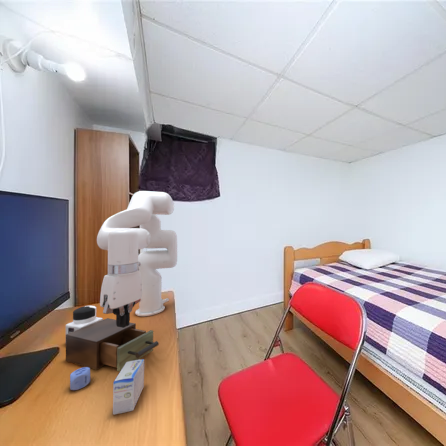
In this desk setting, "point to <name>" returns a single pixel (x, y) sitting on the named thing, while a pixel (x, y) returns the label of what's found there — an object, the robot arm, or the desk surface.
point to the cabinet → (91, 342)
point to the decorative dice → (79, 378)
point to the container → (82, 318)
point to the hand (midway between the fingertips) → (123, 325)
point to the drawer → (126, 347)
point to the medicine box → (128, 386)
